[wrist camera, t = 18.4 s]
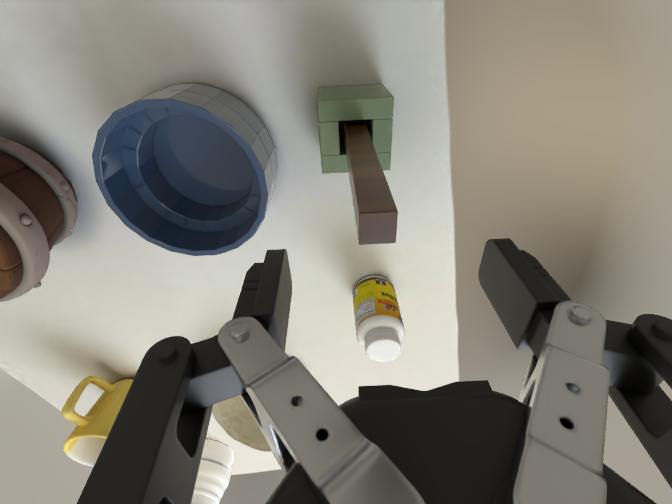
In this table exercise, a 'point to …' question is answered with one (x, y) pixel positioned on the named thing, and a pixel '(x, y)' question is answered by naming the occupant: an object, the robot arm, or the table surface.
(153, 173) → the blue round tub
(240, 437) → the bowl
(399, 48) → the table surface
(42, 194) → the flowerpot
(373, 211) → the brown stick
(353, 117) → the stick holder
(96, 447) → the mug
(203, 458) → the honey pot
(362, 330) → the supplement bottle
